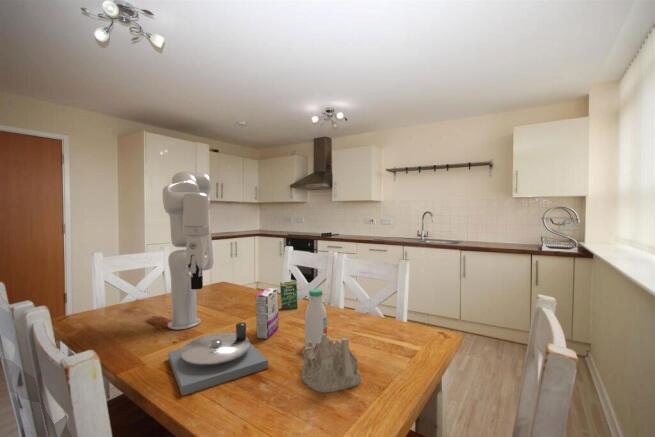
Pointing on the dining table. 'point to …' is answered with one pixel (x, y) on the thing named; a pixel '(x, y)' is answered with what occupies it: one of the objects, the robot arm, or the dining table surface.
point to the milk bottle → (315, 318)
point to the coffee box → (288, 295)
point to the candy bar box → (267, 312)
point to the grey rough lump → (329, 365)
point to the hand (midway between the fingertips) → (197, 288)
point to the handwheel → (216, 347)
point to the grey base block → (214, 370)
